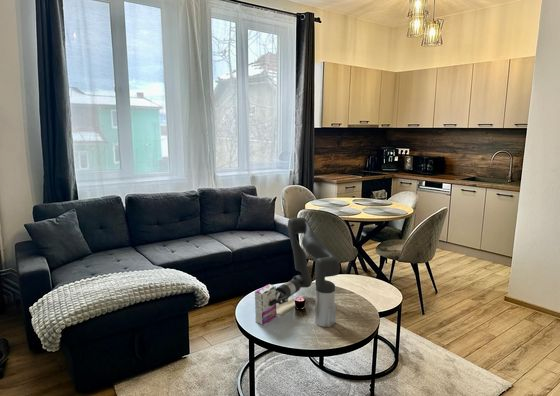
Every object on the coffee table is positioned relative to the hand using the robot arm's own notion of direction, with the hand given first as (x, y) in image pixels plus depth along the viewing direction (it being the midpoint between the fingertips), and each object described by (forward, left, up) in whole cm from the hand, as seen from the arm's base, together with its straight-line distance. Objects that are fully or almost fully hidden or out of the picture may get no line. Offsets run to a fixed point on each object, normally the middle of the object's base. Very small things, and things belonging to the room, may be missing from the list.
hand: (265, 302), depth 188 cm
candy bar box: (0, 0, -9) cm, 9 cm away
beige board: (+2, -17, -9) cm, 20 cm away
